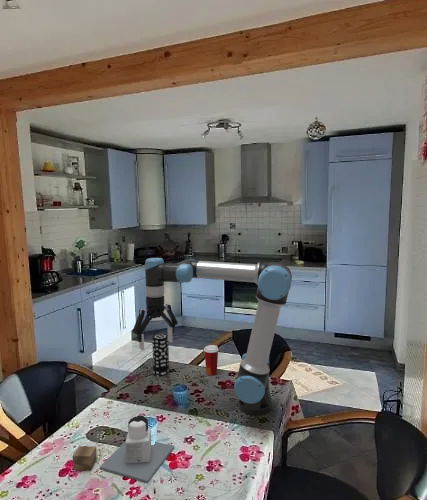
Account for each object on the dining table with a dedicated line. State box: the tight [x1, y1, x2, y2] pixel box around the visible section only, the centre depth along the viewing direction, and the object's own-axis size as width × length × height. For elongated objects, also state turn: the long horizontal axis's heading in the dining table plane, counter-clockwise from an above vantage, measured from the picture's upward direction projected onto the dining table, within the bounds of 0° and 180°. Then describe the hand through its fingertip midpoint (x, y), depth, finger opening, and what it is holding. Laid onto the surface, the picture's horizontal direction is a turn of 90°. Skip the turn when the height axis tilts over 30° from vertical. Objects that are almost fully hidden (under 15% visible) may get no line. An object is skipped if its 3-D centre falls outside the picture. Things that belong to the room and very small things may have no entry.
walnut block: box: [72, 445, 98, 471], centre depth 120 cm, size 6×5×5 cm
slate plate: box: [99, 440, 175, 484], centre depth 123 cm, size 18×18×1 cm
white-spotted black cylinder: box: [151, 333, 170, 378], centre depth 189 cm, size 8×8×20 cm
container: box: [125, 415, 152, 464], centre depth 122 cm, size 8×8×13 cm
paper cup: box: [203, 344, 219, 376], centre depth 189 cm, size 8×8×14 cm
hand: (156, 345), depth 150 cm, fingers open, 13 cm apart
